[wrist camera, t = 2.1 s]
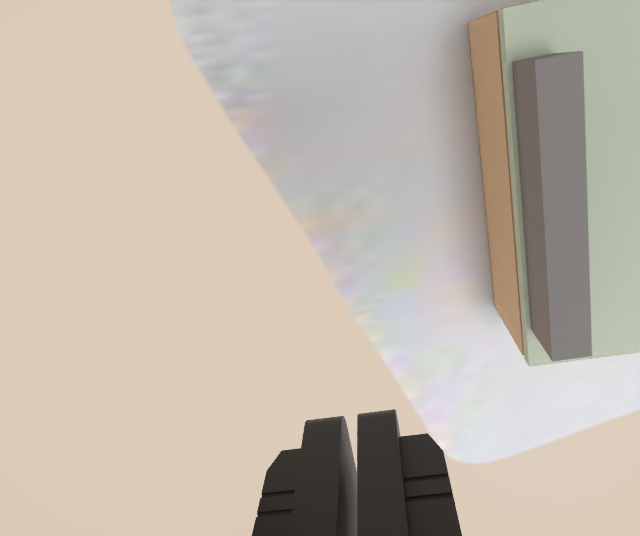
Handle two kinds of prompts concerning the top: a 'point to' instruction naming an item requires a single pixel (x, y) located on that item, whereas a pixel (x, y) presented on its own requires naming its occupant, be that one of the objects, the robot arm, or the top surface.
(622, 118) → the mailer lid
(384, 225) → the top surface
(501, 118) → the tray
